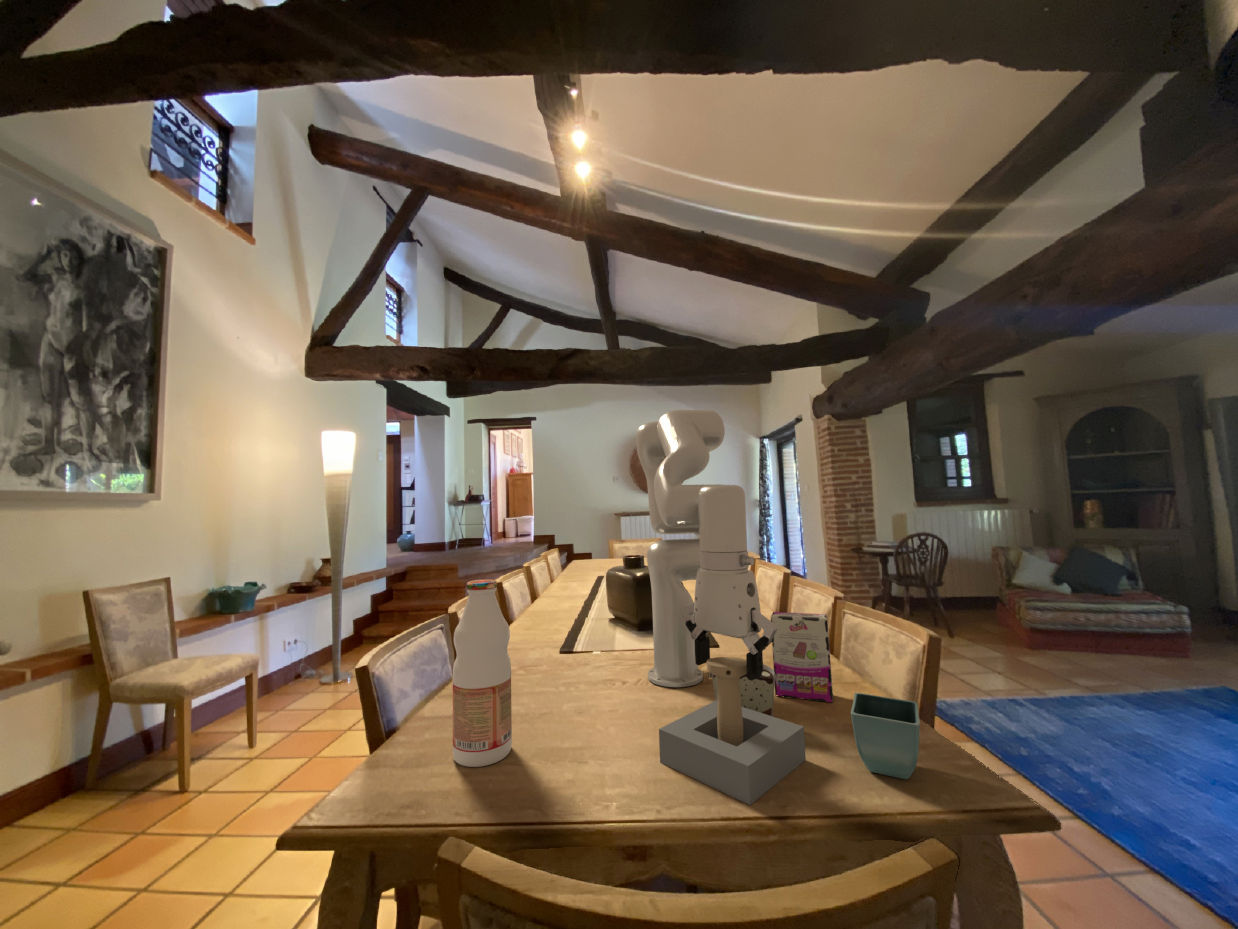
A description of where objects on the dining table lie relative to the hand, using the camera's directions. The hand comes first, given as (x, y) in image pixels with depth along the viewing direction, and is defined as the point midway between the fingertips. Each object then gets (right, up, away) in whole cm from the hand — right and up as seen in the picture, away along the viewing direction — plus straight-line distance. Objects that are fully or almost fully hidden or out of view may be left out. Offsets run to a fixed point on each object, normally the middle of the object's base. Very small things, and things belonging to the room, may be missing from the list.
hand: (727, 670), depth 78 cm
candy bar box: (+21, -15, +23) cm, 35 cm away
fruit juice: (-40, -15, +3) cm, 43 cm away
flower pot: (+23, -13, -5) cm, 27 cm away
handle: (0, -14, -1) cm, 14 cm away
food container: (+6, -15, +12) cm, 20 cm away
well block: (0, -14, -1) cm, 14 cm away
